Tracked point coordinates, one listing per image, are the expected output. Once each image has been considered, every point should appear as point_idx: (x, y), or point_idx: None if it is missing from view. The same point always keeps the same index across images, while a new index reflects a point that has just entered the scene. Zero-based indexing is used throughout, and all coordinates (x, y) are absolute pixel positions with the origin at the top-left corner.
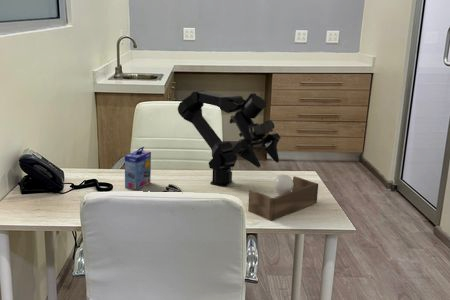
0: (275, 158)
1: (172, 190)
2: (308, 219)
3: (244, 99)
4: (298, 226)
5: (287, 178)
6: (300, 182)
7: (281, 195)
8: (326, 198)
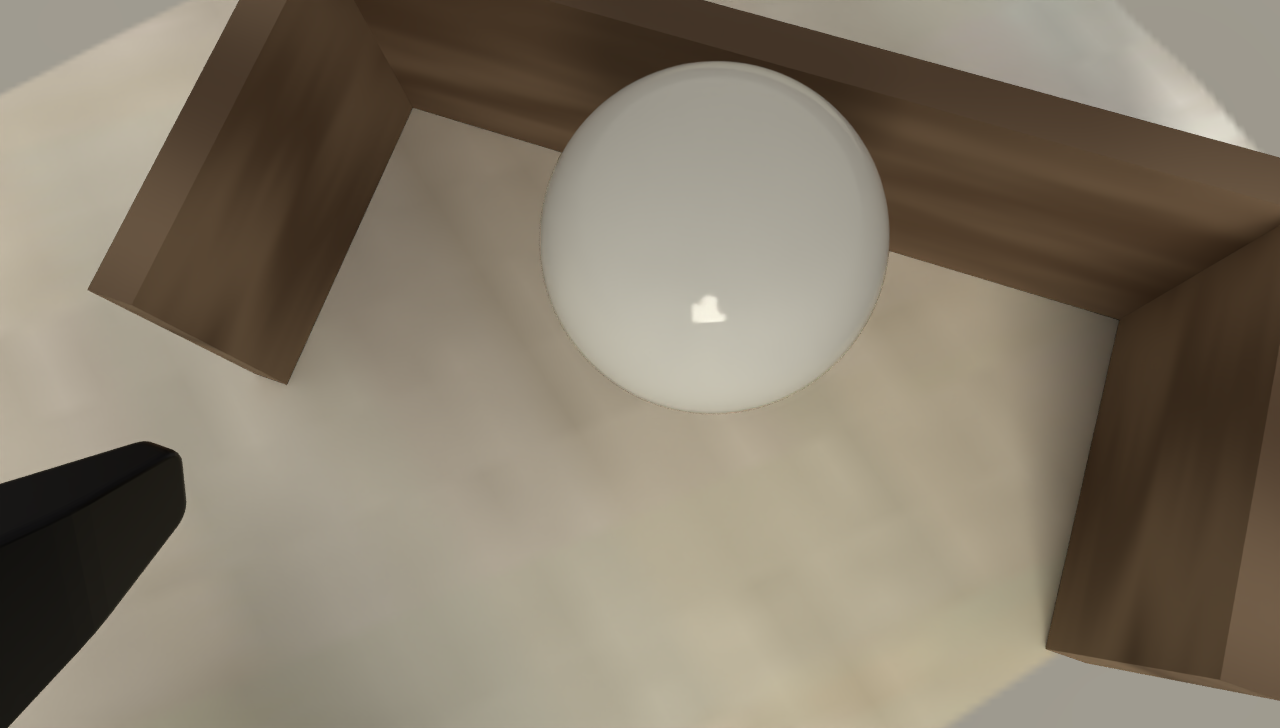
0: (84, 567)
1: None
2: (870, 8)
3: None
4: (1095, 30)
5: (778, 91)
6: (232, 185)
7: (1107, 141)
8: (196, 32)
